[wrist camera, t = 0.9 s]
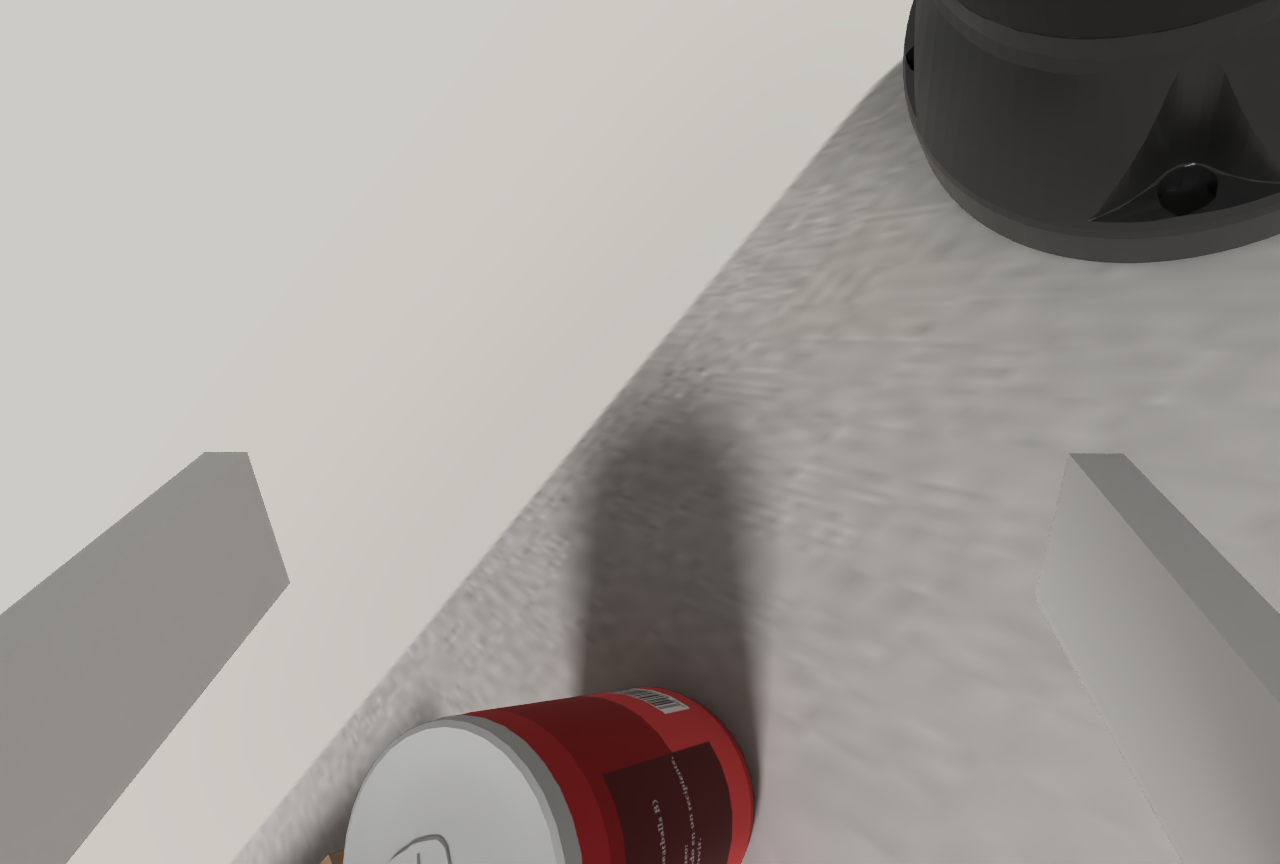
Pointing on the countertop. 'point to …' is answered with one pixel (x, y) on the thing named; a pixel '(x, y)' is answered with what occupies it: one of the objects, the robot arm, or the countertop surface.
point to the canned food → (559, 787)
